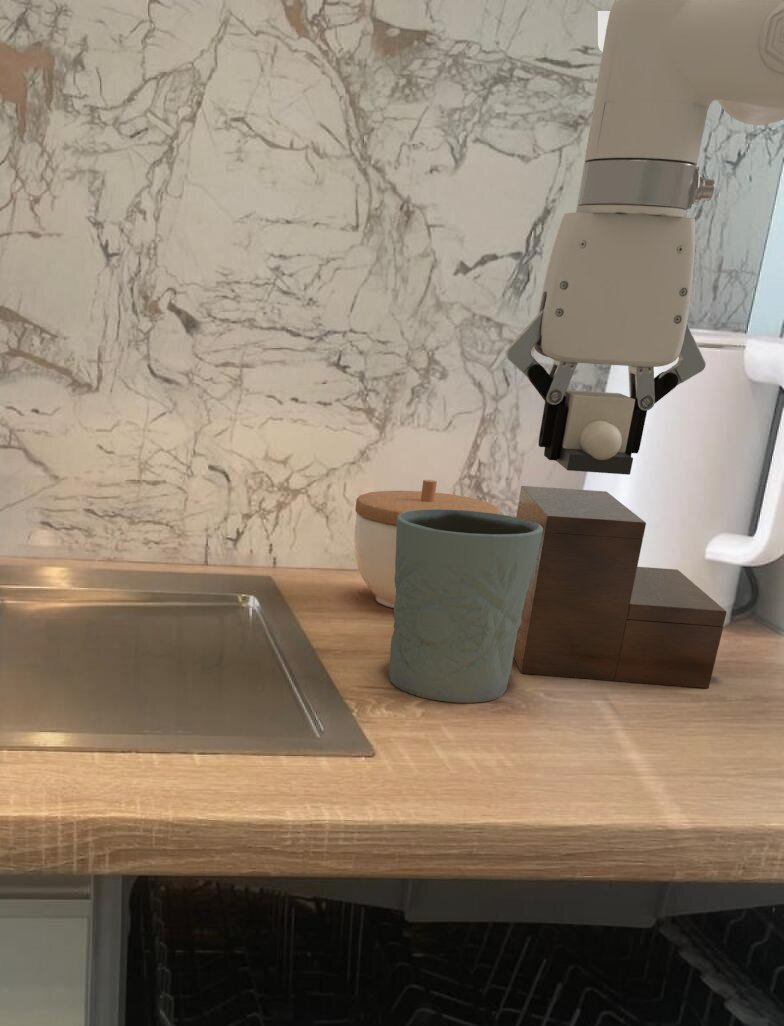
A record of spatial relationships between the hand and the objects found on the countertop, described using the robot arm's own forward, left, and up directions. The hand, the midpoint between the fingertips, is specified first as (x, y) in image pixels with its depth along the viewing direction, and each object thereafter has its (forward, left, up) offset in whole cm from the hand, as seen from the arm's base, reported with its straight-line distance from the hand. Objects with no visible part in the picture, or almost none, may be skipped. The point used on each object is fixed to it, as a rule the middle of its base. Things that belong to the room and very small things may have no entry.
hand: (586, 457), depth 91 cm
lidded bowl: (+10, -13, -16) cm, 23 cm away
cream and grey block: (0, +1, 0) cm, 1 cm away
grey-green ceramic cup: (+9, +11, -16) cm, 21 cm away
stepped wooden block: (-4, 0, -15) cm, 16 cm away
